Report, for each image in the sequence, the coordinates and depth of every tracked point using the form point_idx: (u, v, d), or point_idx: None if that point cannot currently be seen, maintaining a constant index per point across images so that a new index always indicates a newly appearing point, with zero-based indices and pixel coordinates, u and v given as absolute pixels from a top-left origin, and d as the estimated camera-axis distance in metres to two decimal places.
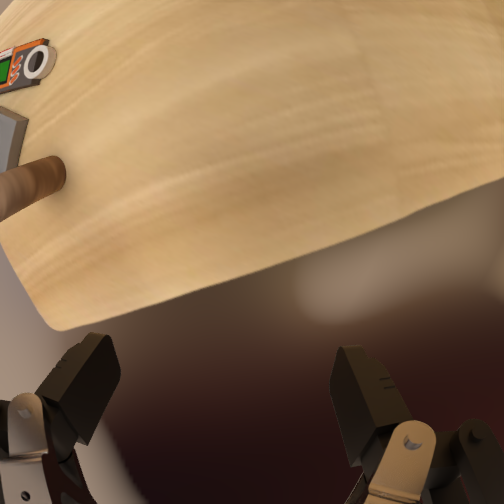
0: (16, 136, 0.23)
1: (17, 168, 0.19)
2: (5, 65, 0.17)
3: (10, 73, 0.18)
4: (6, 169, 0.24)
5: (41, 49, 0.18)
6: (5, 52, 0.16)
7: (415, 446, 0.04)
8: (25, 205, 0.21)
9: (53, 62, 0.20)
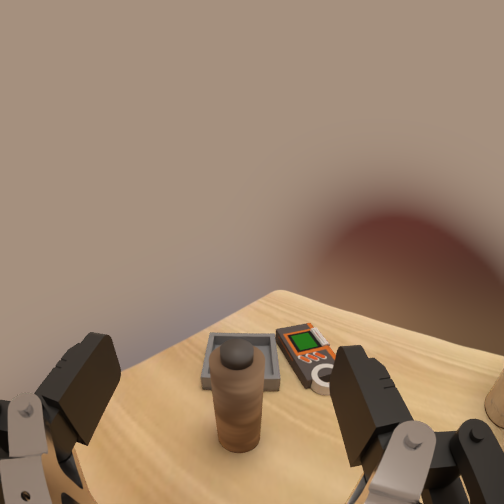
0: None
1: None
2: (311, 343, 0.41)
3: (307, 352, 0.39)
4: None
5: None
6: (322, 337, 0.42)
7: (415, 446, 0.04)
8: (226, 415, 0.22)
9: None
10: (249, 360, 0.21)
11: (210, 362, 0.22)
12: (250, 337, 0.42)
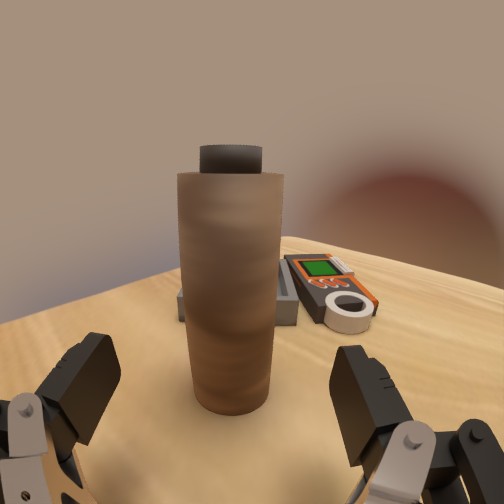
0: None
1: None
2: (329, 270, 0.30)
3: (322, 278, 0.28)
4: None
5: (367, 304, 0.23)
6: (344, 265, 0.31)
7: (415, 446, 0.04)
8: (203, 305, 0.12)
9: (353, 331, 0.22)
10: (254, 158, 0.11)
11: (180, 173, 0.12)
12: None
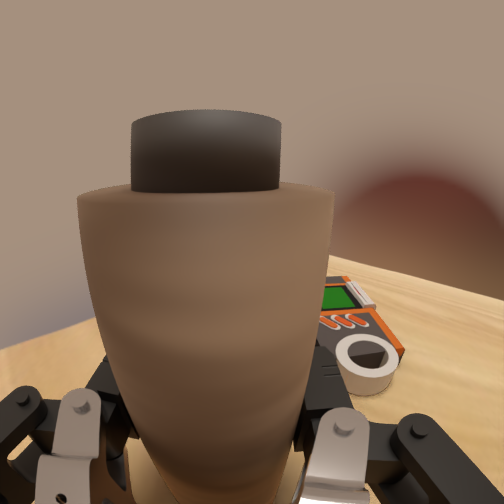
0: None
1: None
2: (344, 301, 0.23)
3: (335, 313, 0.21)
4: None
5: (390, 356, 0.16)
6: (364, 294, 0.24)
7: (343, 433, 0.05)
8: (162, 454, 0.05)
9: (369, 392, 0.15)
10: (263, 148, 0.04)
11: (90, 191, 0.05)
12: None
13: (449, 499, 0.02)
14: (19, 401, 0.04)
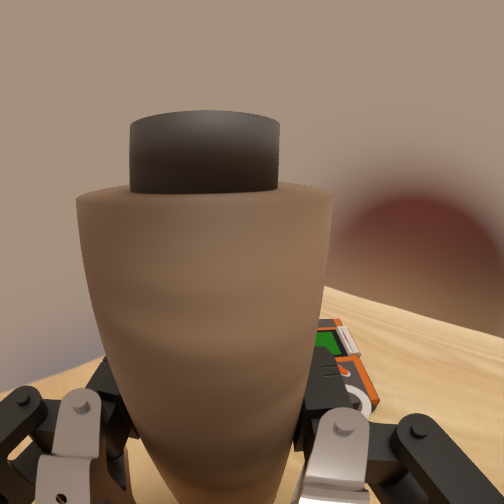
0: None
1: None
2: (332, 348, 0.25)
3: None
4: None
5: (364, 407, 0.17)
6: (351, 341, 0.25)
7: (343, 433, 0.05)
8: (162, 454, 0.05)
9: None
10: (262, 149, 0.04)
11: (89, 193, 0.05)
12: None
13: (449, 499, 0.02)
14: (19, 401, 0.04)
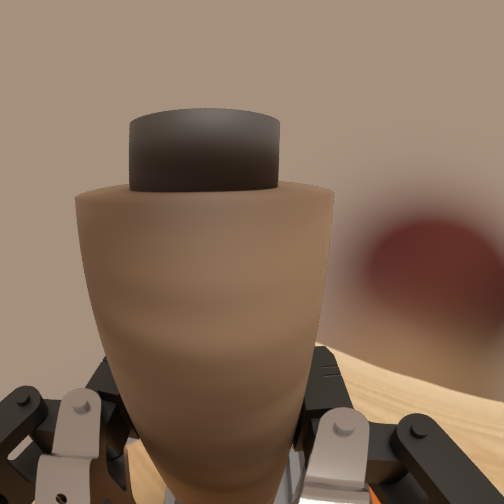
0: None
1: None
2: None
3: None
4: None
5: None
6: None
7: (342, 433, 0.05)
8: (161, 454, 0.05)
9: None
10: (262, 147, 0.04)
11: (89, 191, 0.04)
12: None
13: (449, 499, 0.02)
14: (19, 401, 0.04)
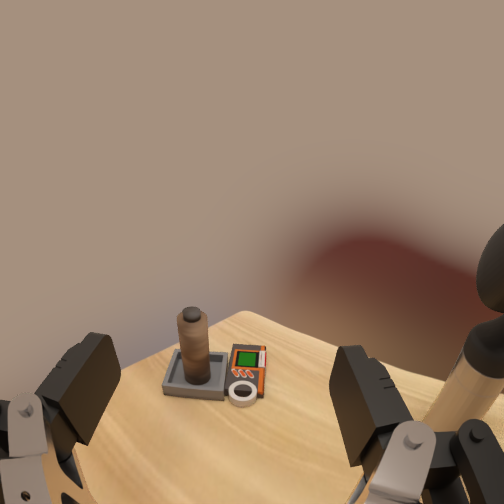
0: (210, 393, 0.40)
1: (208, 345, 0.43)
2: (251, 362, 0.48)
3: (241, 368, 0.46)
4: (181, 387, 0.40)
5: (252, 393, 0.40)
6: (263, 360, 0.48)
7: (415, 446, 0.04)
8: (185, 352, 0.41)
9: (239, 405, 0.39)
10: (197, 317, 0.40)
11: (177, 318, 0.41)
12: None
13: (487, 503, 0.02)
14: None
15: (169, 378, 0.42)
